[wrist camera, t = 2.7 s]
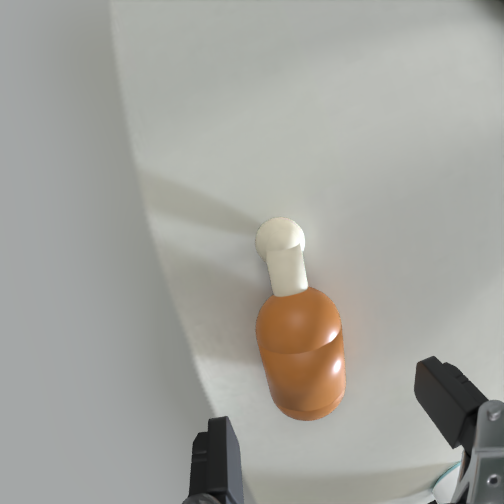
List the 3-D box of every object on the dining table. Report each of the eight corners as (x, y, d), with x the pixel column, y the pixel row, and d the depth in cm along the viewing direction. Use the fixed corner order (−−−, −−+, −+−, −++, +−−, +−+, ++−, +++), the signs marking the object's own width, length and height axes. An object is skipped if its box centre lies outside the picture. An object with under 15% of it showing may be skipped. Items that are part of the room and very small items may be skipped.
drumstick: (229, 223, 15) (231, 244, 11) (312, 205, 15) (341, 219, 11) (272, 395, 18) (282, 443, 14) (335, 378, 18) (356, 422, 14)
